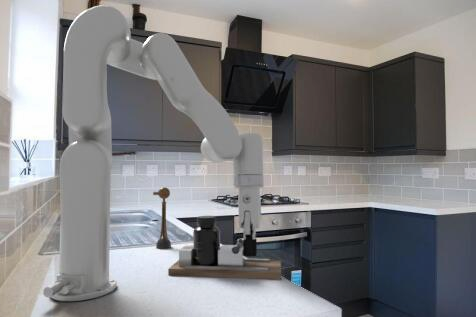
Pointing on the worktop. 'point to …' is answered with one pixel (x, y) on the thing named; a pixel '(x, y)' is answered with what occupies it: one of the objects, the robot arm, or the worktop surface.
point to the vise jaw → (231, 255)
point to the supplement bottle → (206, 241)
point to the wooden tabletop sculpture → (163, 220)
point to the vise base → (249, 269)
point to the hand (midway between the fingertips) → (250, 255)
